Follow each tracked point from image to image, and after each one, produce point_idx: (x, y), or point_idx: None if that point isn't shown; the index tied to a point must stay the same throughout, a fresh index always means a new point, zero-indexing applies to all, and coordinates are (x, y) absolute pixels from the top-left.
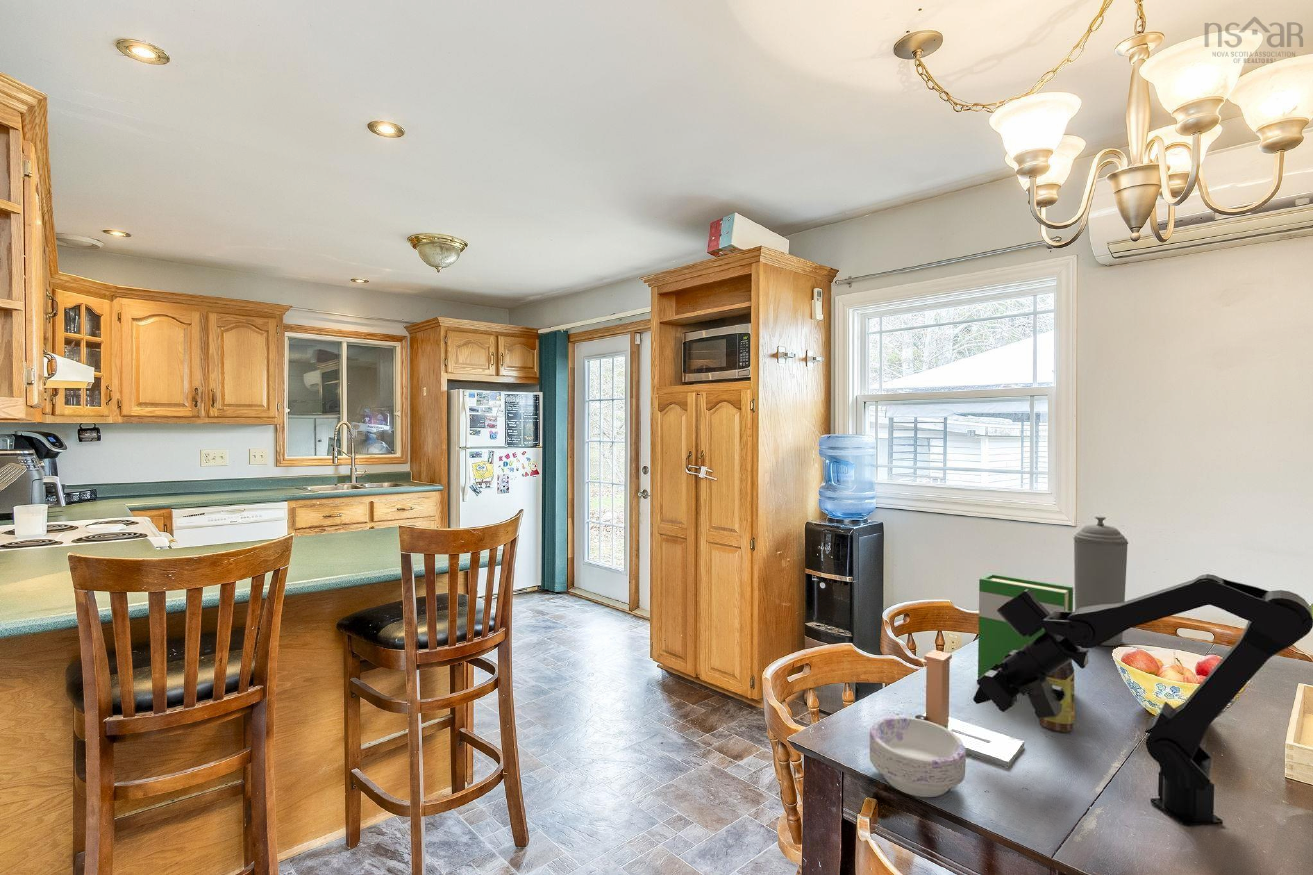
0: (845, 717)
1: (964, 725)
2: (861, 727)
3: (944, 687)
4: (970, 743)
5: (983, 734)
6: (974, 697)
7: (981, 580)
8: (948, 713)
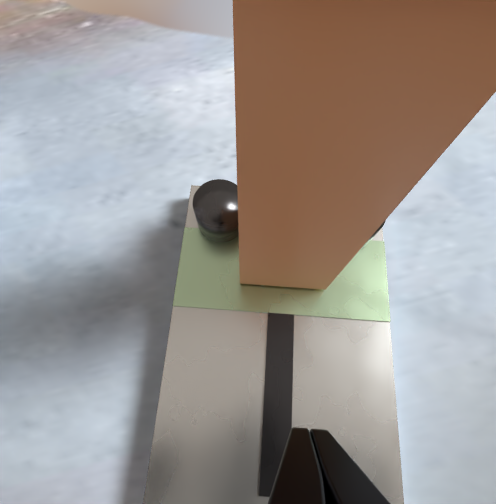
0: (184, 42)
1: (361, 346)
2: (147, 89)
3: (291, 200)
4: (203, 416)
5: None
6: (285, 447)
7: None
8: (330, 276)
